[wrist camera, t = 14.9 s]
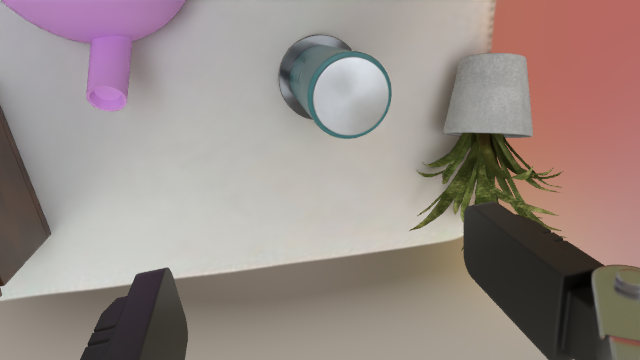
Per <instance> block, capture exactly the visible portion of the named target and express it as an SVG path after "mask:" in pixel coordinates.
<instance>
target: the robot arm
mask: <svg viewBox="0 0 640 360" xmlns="http://www.w3.org/2000/svg"><path fill="white" fill-rule="evenodd" d="M464 261H465V265H466V268H467V270H468V272H469V274H470V276H471V277H472V278H473V279H474V280H475V282H476V283H477V284H478V285H479V286H480V287H481V288H482V289H483V290H484V291H485V292H486V293H487V294H488V295H489V297H490V298H491V299H492V300H493V301H494V302H495V303H496V304H497V305H498V306H499V307H500V308H501V309H502V310H503V311H504V313H505V314H506V315H507V316H508V317H509V318H510V319H511V320H512V321H513V322H514V323H515V324H516V325H517V326H518V327H519V329H520V330H521V331H522V332H523V333H524V334H525V335H526V336H527V337H528V338H529V339H530V340H531V341H532V343H533V344H534V345H535V346H536V347H537V348H538V349H539V350H540V351H541V352H542V353H543V354H544V355H545V356H546V357H547V359H548V360H573V359H575V360H640V268H638V267H634V266H627V265H607V266H604V265H603V264H601V263H600V262H598V261H597V260H595V259H594V258H592V257H591V256H589V255H587V254H586V253H584V252H583V251H581V250H580V249H578V248H577V247H575V246H574V245H572V244H571V243H569V242H568V241H563V238H561V237H560V236H558V235H557V234H555V233H551V231H550V230H549V229H548V228H546V227H545V226H543V225H541V224H540V223H538V222H537V221H535V220H532V219H529V218H526V217H523V216H520V215H517V214H516V215H515V214H513V213H512V212H510V211H509V210H507V209H506V208H504V207H503V206H502V205H500V204H499V203H497V202H495V201H491V202H486V203H482V204H477V205H472V206H468V207H466V209H465V211H464ZM187 342H188V330H187V322H186V318H185V314H184V311H183V308H182V305H181V301H180V298H179V295H178V291H177V288H176V285H175V282H174V278H173V275H172V273H171V271H170V269H169V268H163V269H158V270H153V271H148V272H144V273H139V274H137V275H136V276H135V278H134V281H133V283H132V286H131V288H130V291H129V293H128V296H125V297H121V298H117V299H116V300H115V301H114V302H113V303H112V304H111V305H110V306H109V307H108V308H107V309H106V310H105V311H104V312H103V313H102V314H101V316H100V318H99V320H98V323H97V325H96V327H95V329H94V333H92V335H91V338H90V340H89V342H88V347H86V348H85V350H84V352H83V355H82V357H81V359H80V360H185V355H186V348H187Z"/></svg>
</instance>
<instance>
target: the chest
mask: <svg viewBox="0 0 640 360" xmlns="http://www.w3.org/2000/svg"><path fill="white" fill-rule="evenodd" d="M50 235H51V232H50V230H49V227H48V225H47V222H46V220H45V217H44V215H43V212H42V210H41V207H40V205H39V202H38V200H37V197H36V195H35V192H34V190H33V187H32V185H31V182H30V180H29V177H28V175H27V172H26V170H25V167H24V165H23V162H22V160H21V157H20V154H19V152H18V149H17V147H16V144H15V142H14V139H13V137H12V134H11V132H10V129H9V127H8V124H7V122H6V119H5V117H4V114H3V112H2V109H1V107H0V286H4V285H5V284H6V283H7V282H8V281H9V280H10V279H11V278H12V277H13V276H14V275H15V273H16V272H17V271H18V270H19V269H20V268H21V267H22V266H23V265H24V263H25V262H26V261H27V260H28V259H29V258H30V257H31V256H32V255H33V254H34V252H35V251H36V250H37V249H38V248H39V247H40V246H41V245H42V244H43V243H44V241H45V240H46V239H47V238H48V237H49V236H50Z"/></svg>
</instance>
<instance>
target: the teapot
mask: <svg viewBox="0 0 640 360" xmlns="http://www.w3.org/2000/svg"><path fill="white" fill-rule="evenodd" d="M1 1H2V2H3V3H4V4H6V5H7V6H8V7H9V8H10V9H12V10H13V11H15V12H16V13H17V14H19V15H20V16H21V17H23V18H24V19H26V20H28V21H29V22H31V23H33V24H34V25H36V26H38V27H40V28H42V29H44V30H46V31H48V32H51V33H53V34H55V35H58V36H60V37H63V38H67V39H70V40H73V41H78V42H83V43H89V44H91V47H90V59H89V71H88V83H87V95H86V97H87V100H88V102H89V103H90V104H91V105H92V106H94V107H96V108H98V109H101V110H104V111H117V110H120V109H122V108H124V107H125V105H126V103H127V95H128V84H129V73H130V62H131V51H132V41H135V40H138V39H140V38H143V37H146V36H148V35H150V34H152V33H154V32H156V31H157V30H159V29H160V28H161V27H163V26H164V25H166V24H167V23H168V22H169V21H170V20H171V19H172V18H173V17H174V16H175V15H176V14H177V13H178V11H179V10H180V9H181V7H182V6H183V4H184V3H185V1H186V0H1Z"/></svg>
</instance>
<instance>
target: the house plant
mask: <svg viewBox="0 0 640 360" xmlns="http://www.w3.org/2000/svg"><path fill="white" fill-rule="evenodd" d="M443 134H446V135H454V136H460V138H459V140H458V142H457V143H456V145H455V146H454V148H453V149H452V150H451V151H450V152H449V153H448V154H447V155H445V156H444V157H442V158H441V159H439V160H437V161H435V162H433V163H431V164H428V165H426V166H429V167H441V166H445V165H447V164H448V163H450V164H449V165H448V167H447V168H446V169H445V170H443V171H441V172H439V173H435V174H424V173H420V172H418V173H419V174H421V175H422V176H424V177H433V176H436V175H438V174H441V173H442V177H443V181H442V182H443V184H446V183H447V182H448V180H449V178H450V177H451V175H452V174H453V172H454V171H455V169H456V168H457V167H458V165H459V164H460V163H461V162H462V160H463V159H464V157H465V155H466V153H467V151H468V150H469V149H470V147H471V146H472V147H471V150H470V152H469V154H468V156H467V158H466V160H465V162H464V163H463V165H462V166H461V168H460V169H459V171H458V173H457V174H456V176H455V178H454V179H453V181H452V182H451V183H450V185H449V186H448V188H447V189H446V190H445V191H444V192H443V193H442V194H441V195H440V196H439V197H438V198H437V199H436V200H435V201H434V202H433V203H432V204H431V205H430V206H429V207H428V208H427V209H426V210H424V211H423V212H421V213H420V214H422V213H424V212H425V211H427V210H429V209H430V208H431V207H432V206H433V205H434V204H435V203H436V202H437V201H438V200H439V199H440V198H441V199H440V201H439V202H438V204H437V205H436V207H435V208H434V209H433V210H432V212H431V213H430V214H429V215H428V216H427V217H426V219H425V220H424V221H422V222H421V223H420V224H419V225H417V226H416V227H415V228H413V229H411V230H414V229H418V228H421V227H423V226H425V225H427V224H428V223H430V222H431V221H433V220H434V219H436V218H437V217H439V216H440V215H441V214H443V212H444V211H445V210H446V209H447V208H448V207H449V205H450V204H451V203H452V201H453V200H454V198H455V200H454V206H453V210H454V214H455V215H456V213H457V211H458V209H459V206H460V205H461V203H462V205H461V219H462V221H463V222H464V211H465V209H466V207H468V205H469V202H470V199H471V196H472V193H473V190H474V186H475V182H476V179H477V186H476V191H475V195H476V199H475V205H477V204H482V203H486V202H491V201H495V202H497V203H499V202H498V198H499V199H500V200H503V201H505V202H507V203H510V204H511V205H512V207H513V208H514V209H515V211H516V212H517V213H518V214H519V215H520V216H523V217H526V218H529V219H532V220H535V221H537V222H538V223H540V224H541V225H543V226H545V227H546V228H548V229H551V230H558V229H555V228H552V227H549V226H547V225H545V224H544V223H543V222H542V221H540V220H539V219H538V218H539V217H536V216H535V215H534V214H533V213H532V212H531V211H536V212H540V213H546V214H551V215H555V214H553V213H551V212H549V211H546V210H544V209H540V208H537V207H534V206H531V205H528V204H526V203H525V202H524V200H523V199H522V197H521V196H520V194H519V192H518V190H517V188H516V186H515V184H514V182H513V180H512V178H515V179H520V180H526V181H527V182H528V183H530V184H531V185H533V186H535V187H536V188H539V189H542V190H546V191H552V190H548V189H545V188H543V187H541V186H540V185H538V184H537V183H536V182H535V181H534V180H533V179H531V178H535V179H538V180H539V181H541V182H543V183H545V182H544V181H542V179H548V178H552V177H555V176H558V175H559V174H560V173H561V172H560V173H558V174H556V175H553V176H548V177H539V176H538V175H547V174H548V173H549V172H550V171H551V170H550V171H548V172H546V173H539V174H536V173H535V172H534V171H533V170H532V168H533V167H532V168H530V166H528V165H527V164H526V163H525V162H524V161H523V160H522V158H521V157H520V156H519V155H518V154H517V153H516V152H515V151H514V150H513V148H512V147H511V146H510V145H509V143H508V142H507V141H506V139H505V138H522V137H532V136H533V129H532V118H531V106H530V96H529V84H528V72H527V61H526V58H525V57H524V56H521V55H516V54H508V53H488V54H478V55H472V56H468V57H464V58H462V59H461V60H460V62H459V66H458V70H457V75H456V79H455V83H454V87H453V92H452V96H451V100H450V105H449V109H448V113H447V117H446V122H445V126H444V130H443ZM505 144H506V145H507V146H508V147H509V148H510V150H511V151H512V152H513V153H514V154H515V155H516V157H517V158H518V159H519V160H520V161H521V162H522V163H523V164H524V165H525V166H526V167H527V168H528V169H529V171H527V170H525V169H523V168H521V167H520V165H519V164H518V163H517V162H516V160H515V159H514V157H513V156H512V154H511V152H510V151H509V150H508V148H507V146H506V145H505ZM497 157H498V160H499V162H500V165H501V167H502V169H503V170H502V169H501V168H500V166H499V164H498V161H497ZM422 163H423V162H422ZM423 164H424V163H423ZM475 164H476V165H475ZM424 165H425V164H424ZM474 165H475V168H474ZM473 168H474V171H473ZM507 168H508V169H509V170H511V171H512V172H514V173H515V174H518V175H516V176H513V177H511V175H510V173H509V171H508V169H507ZM472 172H473V173H472ZM533 175H534V176H533ZM495 176H496V178H497V181H498V183H499V185H500V187H501V189H502V190H503V192H502V191H501V190H499V189H498V188H496V187H495ZM505 179H507V180H508V183H509V185H510V187H511V189H512V191H513V193H514V195H515V197H516V198H514V197H513V195H512V193H511V191H510V189H509V187H508V185H507V183H506V181H505ZM545 184H546V183H545ZM547 185H549V184H547ZM551 186H552V185H551ZM554 187H555V186H554ZM556 187H557V186H556ZM553 192H556V191H553ZM464 194H465V196H464ZM463 198H464V199H463ZM462 201H463V202H462ZM420 214H419V215H420ZM409 231H410V230H409ZM558 231H561V230H558ZM560 237H562V236H560ZM463 249H464V246H463V248H462V250H463Z"/></svg>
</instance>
